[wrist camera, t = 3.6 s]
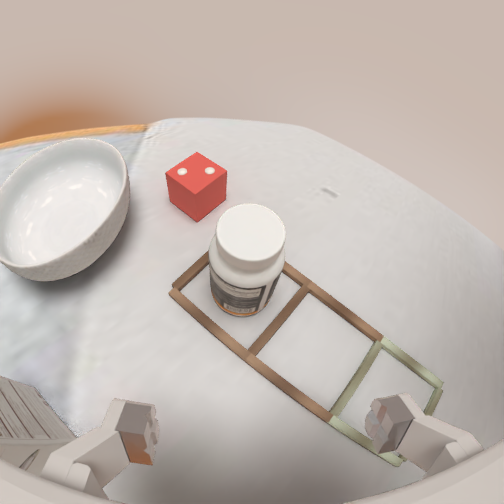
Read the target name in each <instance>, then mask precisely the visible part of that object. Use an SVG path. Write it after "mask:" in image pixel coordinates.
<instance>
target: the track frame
mask: <svg viewBox="0 0 504 504" xmlns="http://www.w3.org/2000/svg"><path fill="white" fill-rule="evenodd" d="M208 252H209V250H208V251H207V252H206V253H205V254H204V255H203V256H202V257H201V258H200V259H198V260H197V261H196V262H195V263H194V264H193V265H192V266H191V267H190V268H189V269H188V270H187V271H185V272H184V273H183V274H182V275H181V276H180V277H179V278H178V279H177V280H176V281H175V282H174V283H173V284H172V287H173V289H172V290H171V291H170V292H169V295H170V296H171V297H172V298H173V299H174V300H175V301H176V302H177V303H178V304H179V305H180V306H182V307H183V308H184V309H185V310H186V311H187V312H188V313H189V314H190V315H191V316H193V317H194V318H195V319H196V320H197V321H198V322H199V323H200V324H202V325H203V326H204V327H205V328H206V329H207V330H208V331H210V332H211V333H212V334H213V335H214V336H215V337H216V338H218V339H219V340H220V341H221V342H222V343H223V344H225V345H226V346H227V347H228V348H229V349H231V350H232V351H233V352H234V353H235V354H237V355H238V356H239V357H240V358H241V359H243V360H244V361H245V362H246V363H248V364H249V365H250V366H251V367H253V368H254V369H255V370H256V371H258V372H259V373H260V374H261V375H263V376H264V377H265V378H266V379H268V380H269V381H270V382H272V383H273V384H274V385H276V386H277V387H278V388H279V389H281V390H282V391H283V392H285V393H286V394H287V395H289V396H290V397H291V398H293V399H294V400H295V401H297V402H298V403H300V404H301V405H302V406H304V407H305V408H306V409H308V410H309V411H311V412H312V413H313V414H315V415H316V416H318V417H319V418H321V419H322V420H323V421H325V422H326V423H328V424H329V425H331V426H332V427H334V428H335V429H337V430H338V431H340V432H341V433H343V434H344V435H346V436H347V437H349V438H350V439H352V440H353V441H355V442H356V443H358V444H360V445H361V446H363V447H364V448H366V449H367V450H369V451H371V452H372V453H374V454H376V455H377V456H379V457H381V458H382V459H384V460H386V461H387V462H389V463H391V464H392V465H394V466H396V467H399V466H400V465H401V463H402V461H405V462H406V461H407V458H405V457H404V456H402V455H401V454H400V455H399V457H397V456H396V455H394V454H392V453H391V452H386V453H382V454H377V452H376V450H375V448H374V446H373V444H372V442H373V441H372V440H370V439H369V438H367V437H366V436H364V435H362V434H361V433H359V432H358V431H356V430H355V429H353V428H352V427H350V426H349V425H347V424H346V423H344V422H343V421H342V420H340V419H339V418H337V417H338V416H339V414H340V413H341V411H342V410H343V409H344V407H345V406H346V404H347V403H348V401H349V400H350V398H351V397H352V395H353V394H354V392H355V391H356V389H357V388H358V386H359V384H360V383H361V381H362V380H363V378H364V377H365V375H366V373H367V372H368V370H369V368H370V367H371V365H372V363H373V362H374V360H375V358H376V357H377V355H378V353H379V351H380V350H381V348H383V349H385V350H386V351H387V352H389V353H390V354H391V355H393V356H394V357H395V358H396V359H398V360H399V361H400V362H402V363H403V364H404V365H406V366H407V367H408V368H410V369H411V370H412V371H413V372H415V373H416V374H417V375H419V376H420V377H421V378H423V379H424V380H425V381H427V382H428V383H429V384H431V385H432V386H433V387H434V388H435V390H434V392H433V394H432V396H431V398H430V400H429V403H428V405H427V407H426V409H425V411H424V414H425V415H426V416H428V415H429V416H432V414H433V412H434V410H435V408H436V405H437V403H438V401H439V399H440V397H441V395H442V392H443V390H442V389H441V388H442V385H443V383H444V382H442V381H441V380H440V379H438V378H437V377H436V376H435V375H433V374H432V373H431V372H430V371H428V370H427V369H426V368H424V367H423V366H422V365H421V364H419V363H418V362H417V361H415V360H414V359H413V358H412V357H410V356H409V355H408V354H406V353H405V352H404V351H403V350H401V349H400V348H399V347H397V346H396V345H395V344H393V343H392V342H391V341H390V340H388V339H387V338H386V337H384V336H383V335H382V334H380V333H379V332H378V331H377V330H375V329H374V328H373V327H371V326H370V325H369V324H367V323H366V322H365V321H363V320H362V319H361V318H360V317H358V316H357V315H356V314H354V313H353V312H352V311H350V310H349V309H348V308H346V307H345V306H344V305H342V304H341V303H340V302H339V301H337V300H336V299H335V298H333V297H332V296H331V295H329V294H328V293H327V292H325V291H324V290H323V289H321V288H320V287H319V286H317V285H316V284H315V283H313V282H312V281H311V280H309V279H308V278H307V277H305V276H304V275H303V274H301V273H300V272H299V271H297V270H296V269H295V268H293V267H292V266H291V265H289V264H288V263H287V262H285V263H284V267H283V269H282V272H283V273H285V274H286V275H287V276H289V277H290V278H291V279H293V280H294V281H295V282H296V283H298V284H299V285H300V286H302V287H301V288H300V289H299V290H298V292H297V293H296V294H295V295H294V296H293V298H292V299H291V300H290V301H289V302H288V304H287V305H286V306H285V307H284V308H283V310H282V311H281V312H280V313H279V314H278V316H277V317H276V318H275V319H274V320H273V322H272V323H271V324H270V325H269V326H268V327H267V329H266V330H265V331H264V332H263V333H262V334H261V335H260V337H259V338H258V339H257V340H256V341H255V342H254V343H253V345H252V346H251V347H250V348H249V349H248V350H247V349H246V348H244V347H243V346H242V345H241V344H239V343H238V342H237V341H236V340H235V339H233V338H232V337H231V336H230V335H229V334H227V333H226V332H225V331H224V330H223V329H222V328H220V327H219V326H218V325H217V324H216V323H215V322H213V321H212V320H211V319H210V318H209V317H208V316H206V315H205V314H204V313H203V312H202V311H201V310H200V309H198V308H197V307H196V306H195V305H194V304H193V303H192V302H191V301H189V300H188V299H187V298H186V297H185V296H184V295H183V294H182V293H181V292H180V290H181V289H182V288H183V287H184V286H185V285H187V284H188V283H189V282H190V281H191V280H192V279H193V278H194V277H195V276H196V275H197V274H198V273H199V272H200V271H201V270H202V269H203V268H205V267H206V266H207V265H208V264H209V258H208ZM308 292H310V293H311V294H312V295H314V296H315V297H316V298H318V299H319V300H320V301H322V302H323V303H324V304H325V305H327V306H328V307H329V308H331V309H332V310H333V311H335V312H336V313H337V314H339V315H340V316H341V317H343V318H344V319H345V320H347V321H348V322H349V323H350V324H352V325H353V326H354V327H356V328H357V329H358V330H360V331H361V332H362V333H364V334H365V335H366V336H368V337H369V338H370V339H372V340H373V341H374V344H373V345H372V347H371V349H370V350H369V352H368V354H367V355H366V357H365V359H364V360H363V362H362V363H361V365H360V367H359V368H358V370H357V371H356V373H355V374H354V376H353V377H352V379H351V381H350V382H349V384H348V385H347V387H346V388H345V390H344V391H343V392H342V394H341V395H340V397H339V398H338V400H337V401H336V403H335V404H334V405H333V407H332V408H331V410H330V411H327V410H326V409H324V408H323V407H321V406H320V405H319V404H317V403H316V402H315V401H313V400H312V399H310V398H309V397H308V396H306V395H305V394H304V393H302V392H301V391H299V390H298V389H297V388H295V387H294V386H293V385H291V384H290V383H289V382H287V381H286V380H285V379H284V378H282V377H281V376H280V375H278V374H277V373H276V372H274V371H273V370H272V369H271V368H269V367H268V366H267V365H266V364H264V363H263V362H262V361H260V360H259V359H258V358H257V357H255V356H256V355H257V353H258V352H259V351H260V350H261V349H262V348H263V346H264V345H265V344H266V343H267V342H268V341H269V339H270V338H271V337H272V336H273V335H274V333H275V332H276V331H277V330H278V329H279V327H280V326H281V325H282V324H283V323H284V321H285V320H286V319H287V318H288V317H289V315H290V314H291V313H292V312H293V310H294V309H295V308H296V307H297V305H298V304H299V303H300V302H301V300H302V299H303V298H304V297H305V295H306V294H307V293H308Z"/></svg>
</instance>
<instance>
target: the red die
mask: <svg viewBox="0 0 504 504" xmlns="http://www.w3.org/2000/svg"><path fill="white" fill-rule="evenodd" d="M165 174H166V180H167V186H168V192H169V198H170V201H171V202H172V203H173V204H174V205H176V206H177V207H178V208H179V209H181V210H182V211H183V212H185V213H186V214H187V215H188V216H190V217H191V218H192V219H193V220H195V221H196V222H199V221H200V220H201V219H202V218H203V217H205V216H206V215H207V214H208V213H210V212H211V211H212V210H213V209H214V208H216V207H217V206H218V205H219V204H221V203H222V202H223V201H224V200H225V199H226V183H227V170H225V169H223V168H222V167H220V166H219V165H217V164H216V163H214V162H212V161H211V160H209V159H208V158H206V157H204V156H203V155H201V154H200V153H198V152H196V153H194V154H193V155H191V156H190V157H188V158H187V159H185V160H184V161H182V162H181V163H179V164H178V165H176V166H175V167H173V168H172V169H170V170H169V171H167V172H166V173H165Z"/></svg>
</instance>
